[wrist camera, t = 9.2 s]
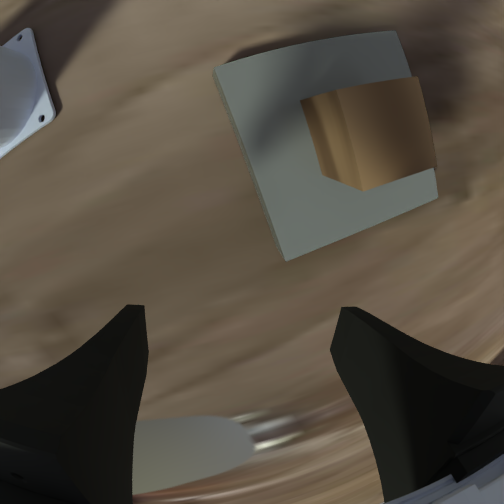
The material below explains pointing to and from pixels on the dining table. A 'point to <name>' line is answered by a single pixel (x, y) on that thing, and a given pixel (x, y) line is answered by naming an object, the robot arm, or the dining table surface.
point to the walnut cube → (371, 132)
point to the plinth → (300, 141)
